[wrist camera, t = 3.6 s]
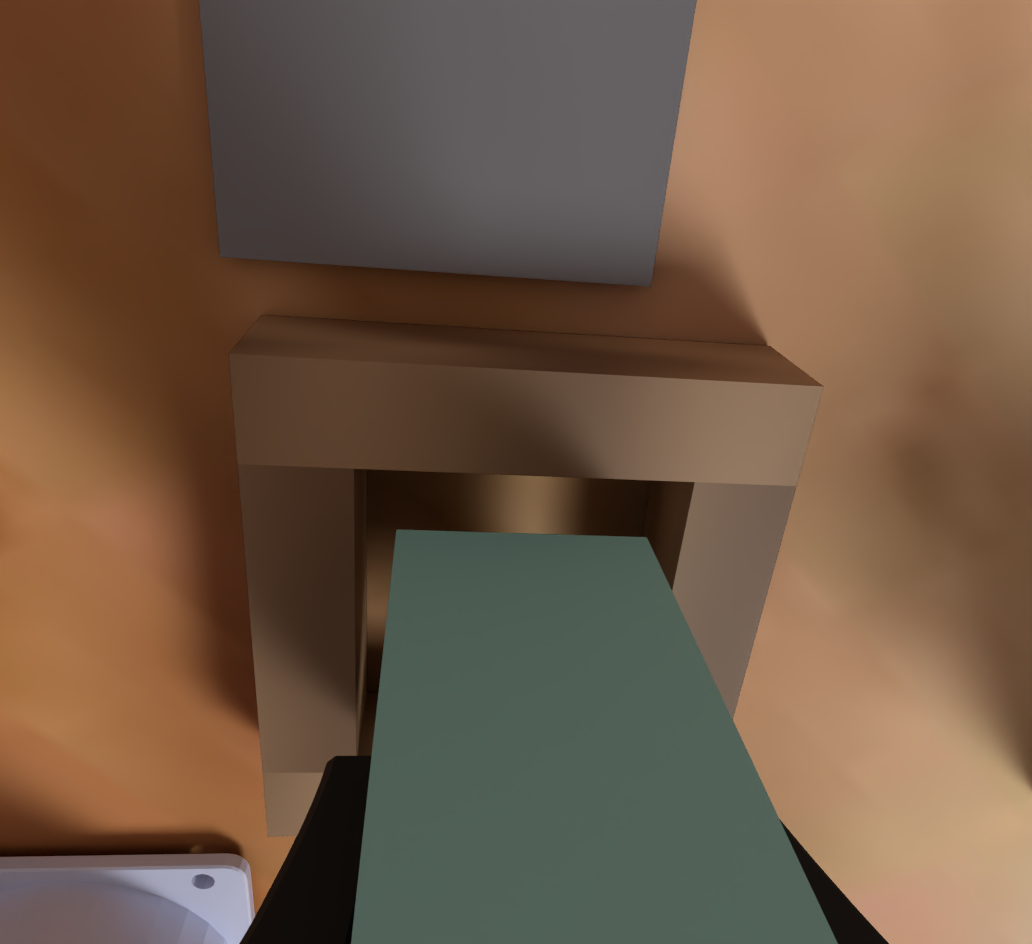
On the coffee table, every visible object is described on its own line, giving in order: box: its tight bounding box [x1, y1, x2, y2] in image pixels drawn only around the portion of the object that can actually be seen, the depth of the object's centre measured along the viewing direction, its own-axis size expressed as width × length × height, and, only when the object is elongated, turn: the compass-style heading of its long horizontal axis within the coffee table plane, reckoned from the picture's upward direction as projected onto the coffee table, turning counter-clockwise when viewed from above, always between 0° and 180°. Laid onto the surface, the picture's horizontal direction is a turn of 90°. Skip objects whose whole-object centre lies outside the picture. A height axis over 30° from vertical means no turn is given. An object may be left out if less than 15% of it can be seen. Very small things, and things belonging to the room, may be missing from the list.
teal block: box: [351, 530, 838, 944], centre depth 10 cm, size 4×5×8 cm
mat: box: [199, 0, 697, 287], centre depth 11 cm, size 7×7×1 cm
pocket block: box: [229, 315, 824, 837], centre depth 15 cm, size 9×10×2 cm
